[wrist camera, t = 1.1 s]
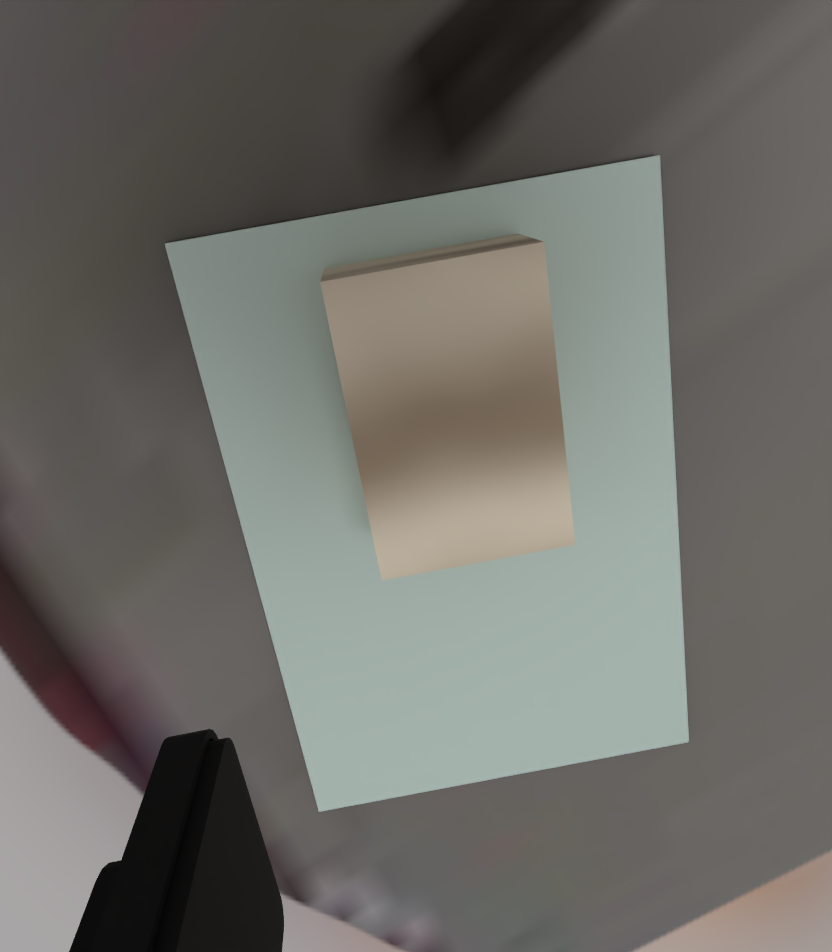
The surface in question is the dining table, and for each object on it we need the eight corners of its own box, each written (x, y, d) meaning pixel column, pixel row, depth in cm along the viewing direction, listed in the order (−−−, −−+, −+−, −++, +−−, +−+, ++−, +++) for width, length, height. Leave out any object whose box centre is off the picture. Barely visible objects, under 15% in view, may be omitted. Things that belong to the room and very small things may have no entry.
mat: (167, 242, 24) (164, 243, 23) (654, 155, 24) (660, 155, 23) (319, 804, 32) (319, 811, 31) (684, 735, 32) (688, 742, 31)
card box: (324, 267, 24) (320, 281, 21) (517, 233, 24) (544, 242, 21) (377, 532, 27) (381, 580, 24) (548, 501, 27) (575, 544, 24)
